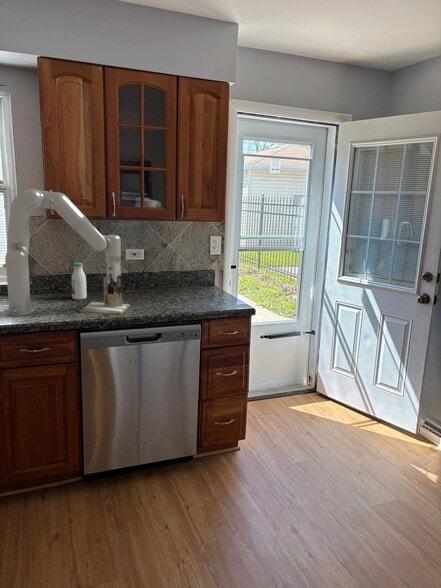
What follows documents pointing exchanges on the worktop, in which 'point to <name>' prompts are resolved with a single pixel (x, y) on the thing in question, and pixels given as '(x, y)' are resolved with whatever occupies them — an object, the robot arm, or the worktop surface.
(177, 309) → the worktop surface
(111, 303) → the coffee box
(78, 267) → the milk bottle
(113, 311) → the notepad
